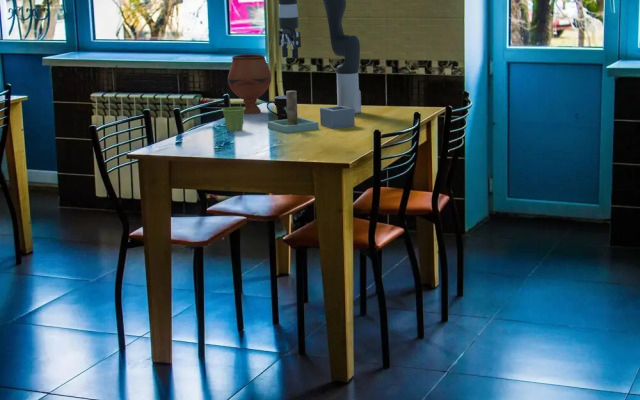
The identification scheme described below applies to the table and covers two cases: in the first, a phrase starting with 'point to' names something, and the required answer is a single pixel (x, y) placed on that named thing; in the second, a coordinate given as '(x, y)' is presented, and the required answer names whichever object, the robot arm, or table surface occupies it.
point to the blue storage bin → (337, 117)
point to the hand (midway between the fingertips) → (290, 58)
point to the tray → (301, 126)
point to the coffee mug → (280, 107)
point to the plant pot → (234, 118)
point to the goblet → (249, 79)
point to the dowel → (292, 107)
